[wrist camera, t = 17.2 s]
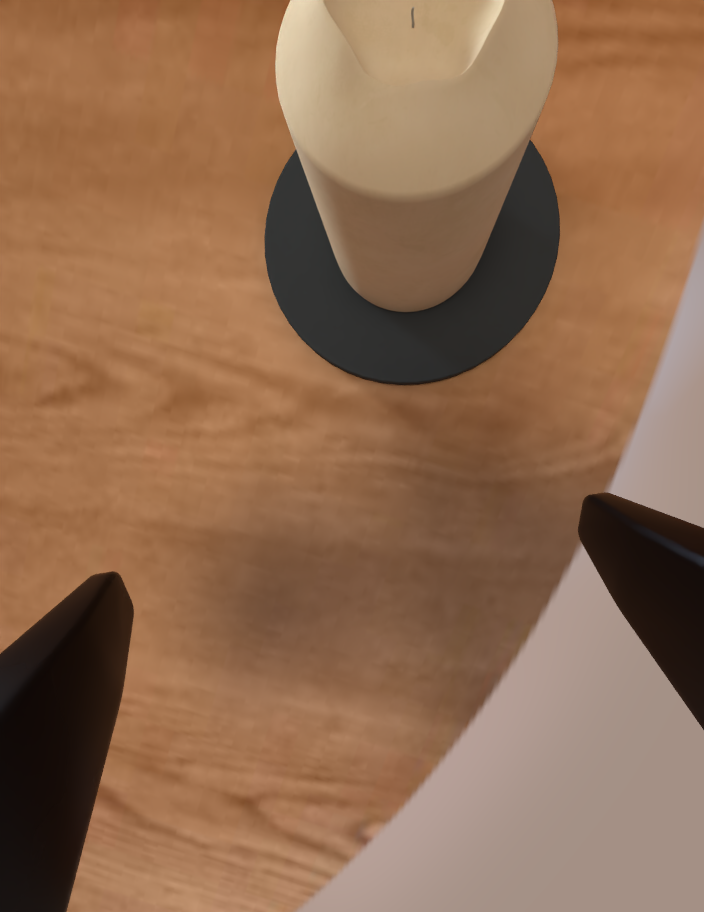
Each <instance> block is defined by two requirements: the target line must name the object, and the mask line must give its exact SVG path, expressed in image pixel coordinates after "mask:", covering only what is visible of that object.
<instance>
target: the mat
mask: <svg viewBox="0 0 704 912" xmlns="http://www.w3.org/2000/svg"><path fill="white" fill-rule="evenodd" d="M559 238H560V218H559V209H558V203H557V196H556V193H555V189H554V186H553V182H552V179H551V176H550V174H549V172H548V169H547V167H546V165H545V163H544V161H543V159H542V157H541V155H540V154H539V152H538V151H537V149H536V148H535V146H534V144H533V143H532V142H531V140H529V143H528V145H527V148H526V150H525V152H524V155H523V157H522V160H521V162H520V164H519V167H518V169H517V172H516V174H515V176H514V179H513V181H512V184H511V186H510V189H509V191H508V193H507V196H506V198H505V201H504V203H503V205H502V208H501V210H500V213H499V215H498V217H497V220H496V222H495V225H494V227H493V230H492V232H491V234H490V237H489V239H488V242H487V244H486V246H485V249H484V251H483V254H482V256H481V258H480V260H479V262H478V264H477V266H476V268H475V270H474V272H473V273H472V275H471V276H470V278H469V279H468V281H467V282H466V283H465V284H464V285H463V286H462V287H461V288H460V289H459V290H458V291H457V292H456V293H455V294H454V295H452V296H451V297H450V298H448V299H447V300H445V301H444V302H442V303H440V304H438V305H436V306H434V307H431V308H428V309H425V310H420V311H415V312H396V311H391V310H387V309H384V308H381V307H378V306H376V305H374V304H372V303H370V302H369V301H367V300H366V299H364V298H363V297H362V296H361V295H359V294H358V293H357V292H356V291H355V290H354V289H353V288H352V287H351V285H350V284H349V283H348V282H347V280H346V279H345V277H344V275H343V273H342V271H341V269H340V267H339V265H338V263H337V260H336V258H335V255H334V252H333V249H332V247H331V244H330V241H329V238H328V236H327V233H326V230H325V227H324V225H323V222H322V219H321V216H320V213H319V211H318V208H317V205H316V202H315V200H314V197H313V194H312V191H311V189H310V186H309V183H308V180H307V178H306V175H305V172H304V169H303V167H302V164H301V161H300V158H299V155H298V153H297V150H295V152H294V153H293V155H292V156H291V157H290V159H289V160H288V162H287V163H286V165H285V167H284V169H283V171H282V173H281V175H280V177H279V179H278V181H277V184H276V186H275V189H274V192H273V195H272V197H271V201H270V205H269V209H268V214H267V219H266V228H265V258H266V264H267V271H268V276H269V279H270V283H271V286H272V290H273V293H274V295H275V297H276V299H277V302H278V304H279V306H280V309H281V310H282V312H283V313H284V315H285V317H286V318H287V320H288V322H289V323H290V325H291V326H292V327H293V329H294V330H295V331H296V332H297V334H298V335H299V336H300V337H301V339H302V340H303V341H304V342H305V343H306V344H307V345H309V346H310V347H311V348H312V349H313V350H314V351H315V352H316V353H317V354H318V355H320V356H321V357H322V358H324V359H325V360H327V361H328V362H329V363H331V364H332V365H334V366H336V367H338V368H340V369H342V370H343V371H345V372H347V373H350V374H352V375H355V376H358V377H360V378H363V379H366V380H371V381H375V382H379V383H386V384H396V385H413V384H424V383H430V382H436V381H440V380H443V379H447V378H450V377H453V376H457V375H459V374H461V373H463V372H465V371H468V370H470V369H472V368H474V367H476V366H478V365H479V364H481V363H482V362H484V361H486V360H487V359H489V358H491V357H492V356H493V355H494V354H496V353H497V352H498V351H499V350H501V349H502V348H503V347H504V346H506V345H507V344H508V343H509V342H510V341H511V340H512V339H513V337H514V336H515V335H516V334H517V333H518V332H519V331H520V330H521V329H522V328H523V327H524V325H525V324H526V323H527V321H528V320H529V319H530V317H531V316H532V315H533V313H534V312H535V310H536V309H537V307H538V305H539V303H540V302H541V300H542V298H543V296H544V294H545V292H546V290H547V287H548V285H549V282H550V280H551V277H552V274H553V270H554V267H555V263H556V259H557V254H558V246H559Z"/></svg>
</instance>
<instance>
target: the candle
mask: <svg viewBox="0 0 704 912" xmlns="http://www.w3.org/2000/svg"><path fill="white" fill-rule="evenodd" d="M557 52H558V27H557V20H556V15H555V9H554V5H553V2H552V0H291V1H290V3H289V5H288V8H287V10H286V12H285V15H284V18H283V21H282V25H281V28H280V32H279V37H278V42H277V48H276V62H275V69H276V84H277V90H278V95H279V101H280V104H281V107H282V110H283V113H284V116H285V119H286V122H287V125H288V128H289V130H290V133H291V136H292V139H293V142H294V144H295V147H296V150H297V153H298V155H299V158H300V161H301V164H302V167H303V169H304V172H305V175H306V178H307V180H308V183H309V186H310V189H311V191H312V194H313V197H314V200H315V202H316V205H317V208H318V211H319V213H320V216H321V219H322V222H323V225H324V227H325V230H326V233H327V236H328V238H329V241H330V244H331V247H332V249H333V252H334V255H335V258H336V260H337V263H338V265H339V267H340V269H341V271H342V273H343V275H344V277H345V279H346V280H347V282H348V283H349V284H350V285H351V287H352V288H353V289H354V290H355V291H356V292H357V293H358V294H359V295H361V296H362V297H363V298H364V299H366V300H367V301H369V302H370V303H372V304H374V305H376V306H378V307H381V308H384V309H387V310H391V311H396V312H415V311H420V310H425V309H428V308H431V307H434V306H436V305H438V304H440V303H442V302H444V301H445V300H447V299H448V298H450V297H451V296H452V295H454V294H455V293H456V292H457V291H458V290H459V289H460V288H461V287H462V286H463V285H464V284H465V283H466V282H467V281H468V279H469V278H470V276H471V275H472V273H473V272H474V270H475V268H476V266H477V264H478V262H479V260H480V258H481V256H482V254H483V251H484V249H485V246H486V244H487V242H488V239H489V237H490V234H491V232H492V230H493V227H494V225H495V222H496V220H497V217H498V215H499V213H500V210H501V208H502V205H503V203H504V201H505V198H506V196H507V193H508V191H509V189H510V186H511V184H512V181H513V179H514V176H515V174H516V172H517V169H518V167H519V164H520V162H521V160H522V157H523V155H524V152H525V150H526V148H527V145H528V143H529V140H530V138H531V135H532V133H533V131H534V128H535V126H536V123H537V121H538V119H539V116H540V114H541V111H542V109H543V106H544V104H545V101H546V99H547V96H548V93H549V90H550V88H551V85H552V81H553V77H554V72H555V68H556V63H557Z"/></svg>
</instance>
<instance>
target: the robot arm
mask: <svg viewBox="0 0 704 912" xmlns="http://www.w3.org/2000/svg"><path fill="white" fill-rule="evenodd" d="M578 533H579V537H580V540H581V542H582V544H583V546H584V547H585V549H586V551H587V553H588V555H589V556H590V558H591V560H592V562H593V564H594V566H595V567H596V569H597V571H598V573H599V574H600V576H601V578H602V580H603V582H604V583H605V585H606V587H607V589H608V591H609V593H610V594H611V596H612V598H613V599H614V601H615V603H616V604H617V606H618V607H619V609H620V611H621V612H622V614H623V615H624V617H625V618H626V619H627V621H628V622H629V624H630V625H631V627H632V628H633V629H634V631H635V632H636V634H637V635H638V636H639V638H640V639H641V641H642V642H643V644H644V645H645V646H646V648H647V649H648V651H649V652H650V654H651V655H652V657H653V658H654V659H655V661H656V662H657V664H658V665H659V667H660V668H661V670H662V671H663V672H664V674H665V675H666V677H667V678H668V680H669V681H670V682H671V684H672V685H673V687H674V688H675V690H676V691H677V692H678V694H679V695H680V697H681V698H682V700H683V701H684V702H685V704H686V705H687V707H688V708H689V710H690V711H691V712H692V714H693V715H694V717H695V718H696V720H697V721H698V722H699V724H700V725H701V727H702V728H703V730H704V528H702V527H699V526H697V525H694V524H691V523H688V522H686V521H683V520H681V519H678V518H675V517H672V516H670V515H667V514H664V513H662V512H659V511H656V510H653V509H651V508H648V507H645V506H643V505H640V504H637V503H634V502H632V501H629V500H627V499H624V498H621V497H619V496H616V495H613V494H610V493H598V494H592V495H588V496H586V497H585V499H584V500H583V504H582V510H581V515H580V521H579V526H578ZM133 617H134V609H133V604H132V601H131V599H130V596H129V594H128V592H127V589H126V587H125V585H124V583H123V580H122V578H121V576H120V575H119V574H118V573H117V572H106V573H100V574H95V575H92V576H91V577H90V578H88V579H87V580H86V581H85V582H84V583H82V584H81V585H80V586H79V587H78V588H77V589H75V590H74V591H73V592H72V593H71V594H70V595H68V596H67V597H66V598H65V599H64V600H63V601H61V602H60V603H59V604H58V605H57V606H56V607H54V608H53V609H52V610H51V611H50V612H49V613H47V614H46V615H45V616H44V617H43V618H42V619H40V620H39V621H38V622H37V623H36V624H35V625H33V626H32V627H31V628H30V629H29V630H28V631H26V632H25V633H24V634H23V635H22V636H21V637H19V638H18V639H17V640H16V641H15V642H14V643H12V644H11V645H10V646H9V647H8V648H7V649H5V650H4V651H3V652H2V653H1V654H0V912H66V911H67V907H68V904H69V900H70V896H71V892H72V888H73V884H74V880H75V877H76V873H77V869H78V865H79V861H80V857H81V853H82V850H83V846H84V842H85V838H86V834H87V830H88V826H89V822H90V819H91V815H92V811H93V807H94V803H95V799H96V795H97V792H98V788H99V784H100V780H101V776H102V772H103V768H104V765H105V761H106V757H107V753H108V749H109V745H110V741H111V737H112V734H113V730H114V726H115V722H116V718H117V714H118V710H119V706H120V702H121V698H122V693H123V687H124V681H125V674H126V666H127V659H128V652H129V645H130V638H131V631H132V624H133Z"/></svg>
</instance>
